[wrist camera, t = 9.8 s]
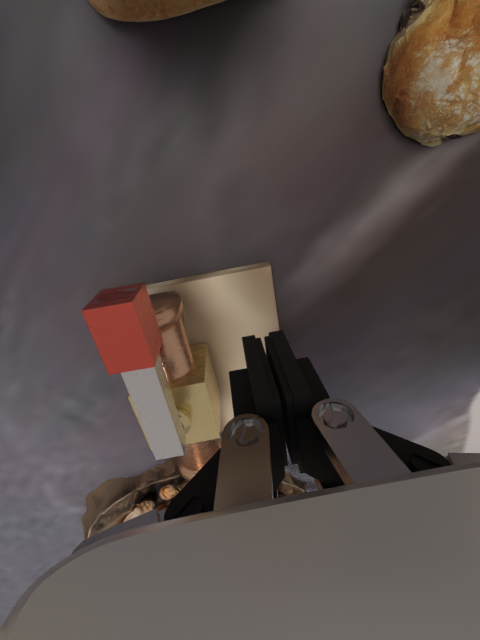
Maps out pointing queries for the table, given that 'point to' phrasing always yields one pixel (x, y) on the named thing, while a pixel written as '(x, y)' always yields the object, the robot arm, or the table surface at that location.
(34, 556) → the table surface
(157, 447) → the valve lever
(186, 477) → the valve pipe
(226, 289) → the beige board
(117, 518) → the food dish
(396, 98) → the bread roll
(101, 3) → the stone cup
